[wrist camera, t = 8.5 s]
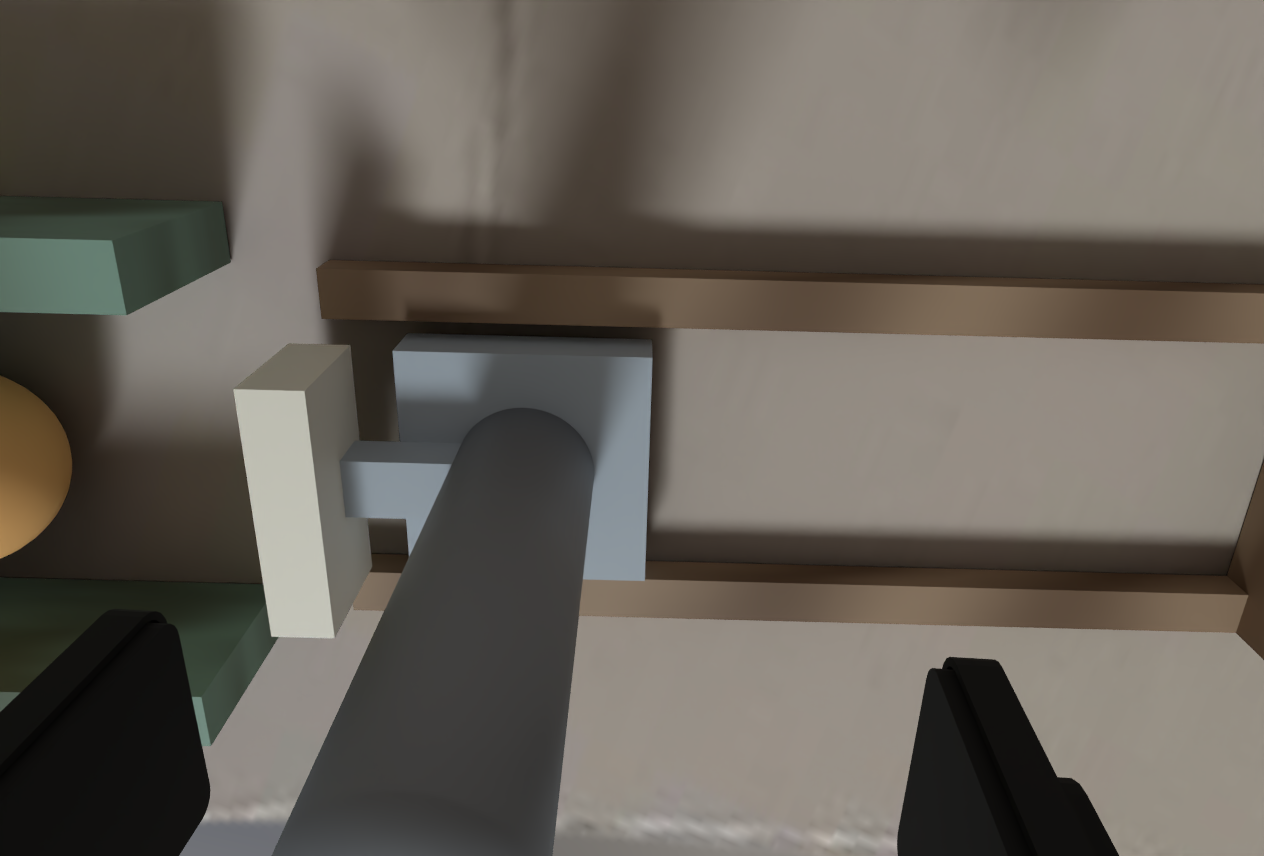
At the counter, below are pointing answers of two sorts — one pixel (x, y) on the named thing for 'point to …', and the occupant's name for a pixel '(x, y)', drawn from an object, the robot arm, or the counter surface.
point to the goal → (118, 285)
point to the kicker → (448, 572)
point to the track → (852, 303)
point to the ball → (29, 466)
